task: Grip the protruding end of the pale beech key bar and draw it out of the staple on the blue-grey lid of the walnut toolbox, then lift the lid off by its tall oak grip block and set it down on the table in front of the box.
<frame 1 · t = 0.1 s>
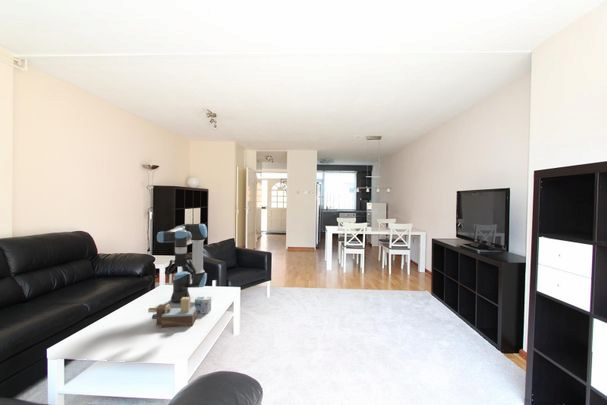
hand: (180, 283, 198), 28 cm above the table, fingers open, 13 cm apart
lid: (179, 313, 201), point 7 cm above the table, touching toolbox
key: (159, 309, 199), point 10 cm above the table, slide at 0.0 cm
light bulb box: (202, 312, 221), on the table
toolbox: (179, 323, 201), on the table
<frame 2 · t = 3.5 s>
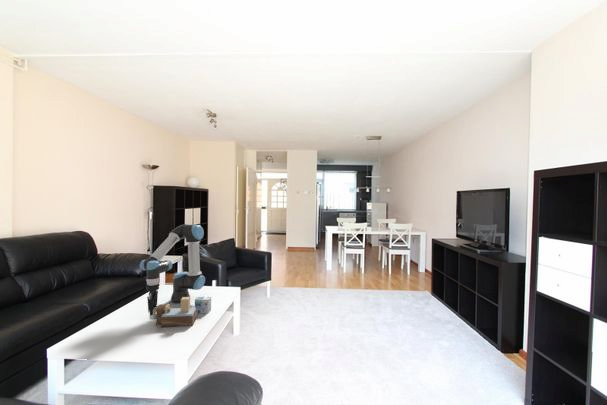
hand: (152, 318, 198), 4 cm above the table, fingers closed on key, 2 cm apart
key: (159, 309, 199), point 10 cm above the table, slide at 0.0 cm, touching gripper
everything else where it was.
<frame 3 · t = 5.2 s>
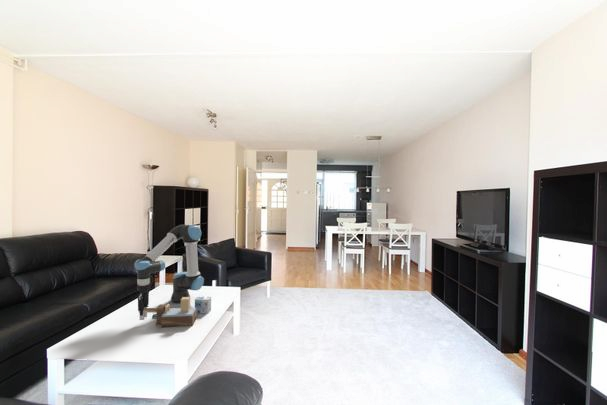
hand: (143, 318, 198), 4 cm above the table, fingers open, 4 cm apart
key: (150, 310, 198), point 10 cm above the table, slide at 5.9 cm
everything else where it was.
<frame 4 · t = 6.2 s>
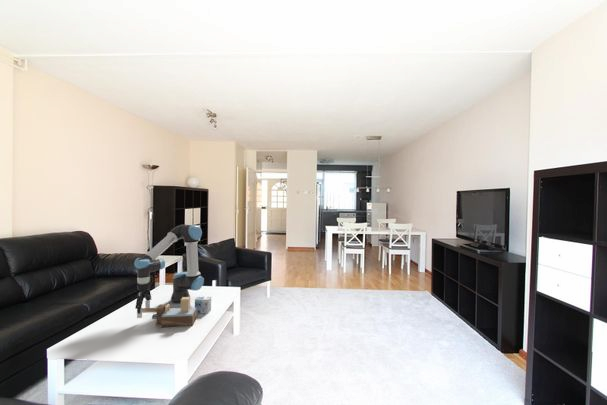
hand: (143, 313, 198), 7 cm above the table, fingers open, 13 cm apart
nothing on the table moved.
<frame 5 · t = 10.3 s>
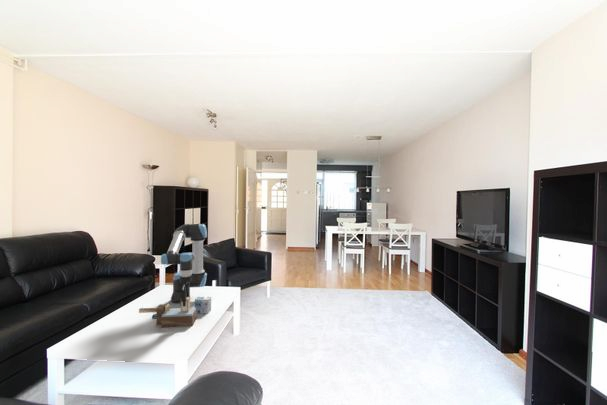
hand: (185, 308, 201), 10 cm above the table, fingers closed on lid, 5 cm apart
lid: (179, 313, 201), point 7 cm above the table, touching gripper, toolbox
everything else where it was.
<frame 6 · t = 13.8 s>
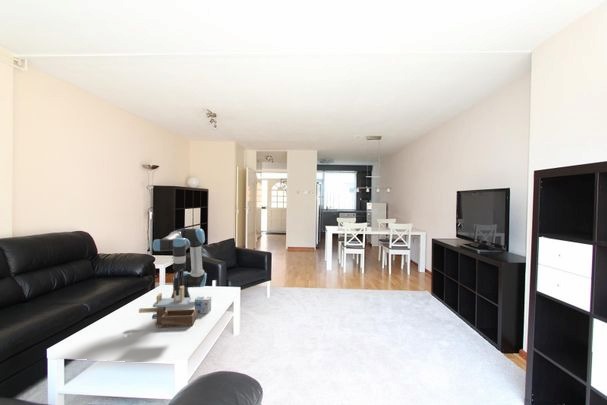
hand: (179, 298, 185), 22 cm above the table, fingers closed on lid, 5 cm apart
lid: (172, 303, 185), point 20 cm above the table, touching gripper
everything else where it was.
when the fingers open (4 cm above the table, at t = 17.2 s): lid drops 2 cm, on the table.
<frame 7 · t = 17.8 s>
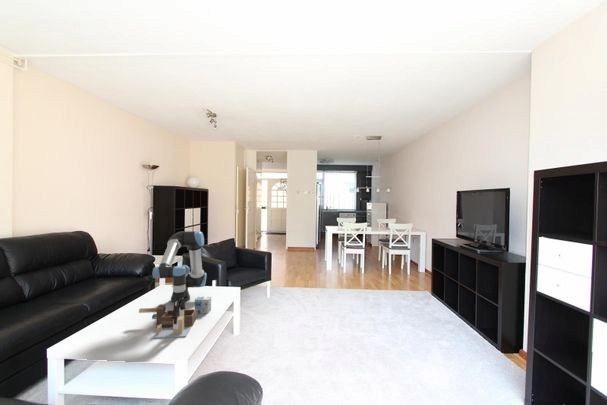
hand: (178, 324, 185), 6 cm above the table, fingers open, 13 cm apart
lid: (172, 334, 185), on the table
everything else where it was.
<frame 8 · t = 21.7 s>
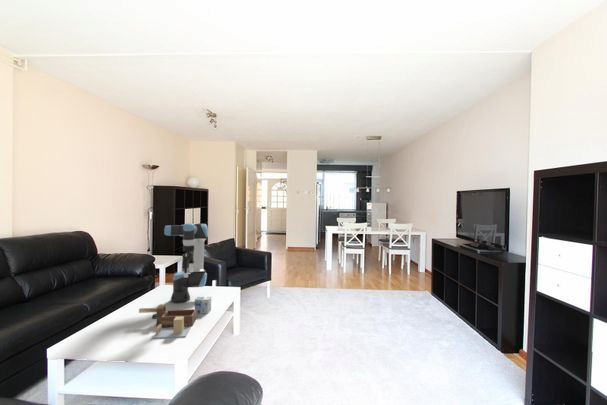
hand: (188, 274, 208), 32 cm above the table, fingers open, 13 cm apart
nothing on the table moved.
at the end: key slide at 5.9 cm; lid inside the target area (0.2 cm from its centre), on the table; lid tilted 0° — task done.
